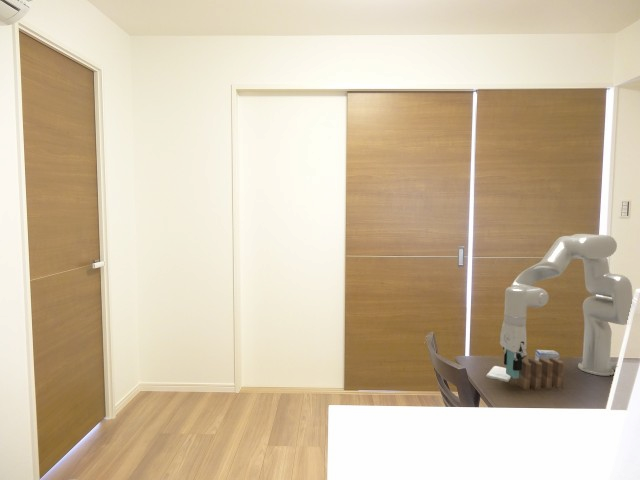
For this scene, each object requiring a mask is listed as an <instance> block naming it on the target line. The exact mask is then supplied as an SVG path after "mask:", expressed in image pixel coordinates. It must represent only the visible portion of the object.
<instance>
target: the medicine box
mask: <svg viewBox="0 0 640 480" xmlns="http://www.w3.org/2000/svg"><path fill="white" fill-rule="evenodd" d="M560 355H561V354H559V353H558V352H557V351H556V350H552V349H550V350H548V349H535V353H534V356H535V357H534V359H535V360H537V361H538V362H539V358H544V359H546V360H548V361H550V358H556V359H558V360H560Z"/></svg>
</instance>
